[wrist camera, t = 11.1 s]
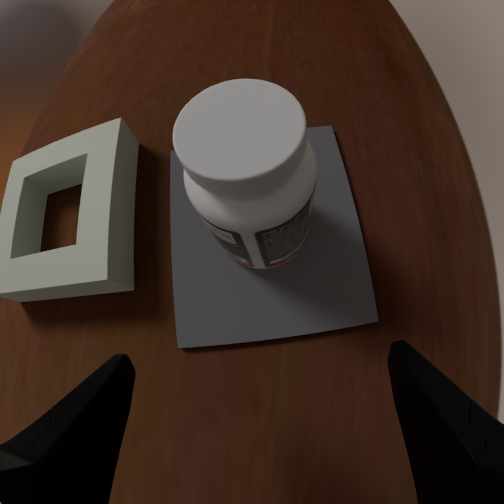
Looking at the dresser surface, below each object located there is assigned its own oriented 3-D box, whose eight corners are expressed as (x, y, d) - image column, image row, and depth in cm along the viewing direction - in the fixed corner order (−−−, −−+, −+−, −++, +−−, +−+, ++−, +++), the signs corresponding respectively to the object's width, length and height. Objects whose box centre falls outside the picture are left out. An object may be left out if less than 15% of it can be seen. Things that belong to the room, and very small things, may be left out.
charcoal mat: (376, 322, 17) (378, 321, 17) (180, 347, 18) (177, 348, 18) (330, 129, 21) (331, 125, 21) (172, 154, 22) (170, 150, 22)
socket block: (134, 290, 20) (107, 279, 16) (19, 302, 21) (-10, 294, 17) (139, 143, 23) (121, 117, 20) (34, 178, 24) (13, 161, 21)
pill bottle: (305, 182, 20) (311, 65, 10) (313, 267, 18) (337, 189, 9) (217, 189, 20) (169, 81, 11) (217, 273, 19) (150, 204, 9)
